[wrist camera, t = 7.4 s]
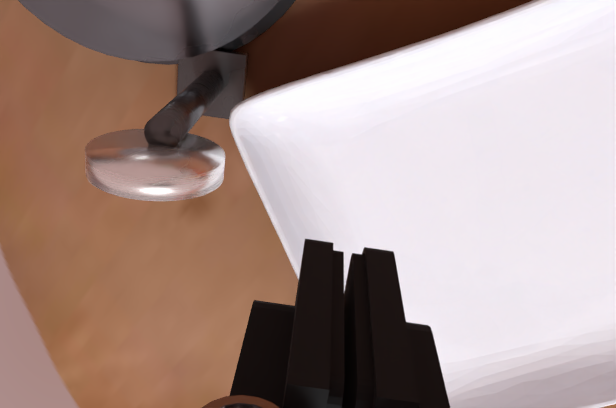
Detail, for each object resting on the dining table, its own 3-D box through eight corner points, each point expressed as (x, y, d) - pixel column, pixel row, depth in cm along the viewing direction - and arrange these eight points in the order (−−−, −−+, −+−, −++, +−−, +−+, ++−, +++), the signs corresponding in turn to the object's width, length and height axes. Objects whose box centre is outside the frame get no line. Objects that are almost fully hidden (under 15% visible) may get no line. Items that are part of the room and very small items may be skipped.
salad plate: (749, 329, 31) (795, 372, 28) (370, 419, 35) (372, 465, 32) (711, -86, 23) (768, -91, 20) (231, 91, 27) (216, 109, 24)
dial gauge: (167, 41, 26) (57, 100, 16) (263, 55, 26) (213, 122, 16) (165, 106, 27) (61, 197, 17) (257, 119, 27) (207, 218, 17)
